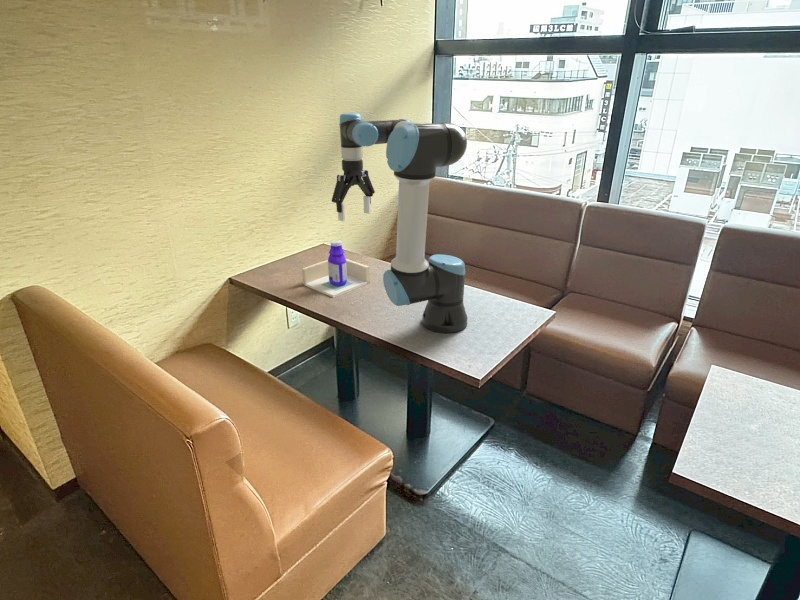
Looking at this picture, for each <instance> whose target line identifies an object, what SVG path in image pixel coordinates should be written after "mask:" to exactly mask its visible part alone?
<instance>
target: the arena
mask: <svg viewBox="0 0 800 600" xmlns="http://www.w3.org/2000/svg"><path fill="white" fill-rule="evenodd" d="M346 271H347V282H346V284H344V285H342V286H336V285H333V284H331V283H330V281H329V269H328V259H326V260H323V261H319V262H317V263H314V264H310V265H308V266H306V267H303V268H301V272H302V274H301V275H302V283H303V286H305V287H307V288H310V289H312V290H314V291H316V292H319V293H322V294H323V295H326V296H328V297H330V298H332V299H333V298H336V297H339V296H341V295H343V294H346V293H348V292H350V291H353V290H356V289H358V288H361V287H363V286H365V285H368V284H370V266H368V265H366V264H364V263H363V264H362V263H360V262H357V261H354V260H351V259H349V258H346Z"/></svg>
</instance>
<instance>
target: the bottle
mask: <svg viewBox="0 0 800 600" xmlns="http://www.w3.org/2000/svg"><path fill="white" fill-rule="evenodd" d="M328 254H329V256H328V257H327V260H328V269H329V281H330V283H331V284H333V285H336V286H342V285H344V284H346V282H347V271H346V259H347V257H346V256H345V255H344V254H345V251H344V250H343V246H342V240H339V239H332V240H331V241H330V249H329V251H328Z"/></svg>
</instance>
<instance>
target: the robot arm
mask: <svg viewBox="0 0 800 600" xmlns="http://www.w3.org/2000/svg"><path fill="white" fill-rule="evenodd" d="M339 135H340V149H341V150H340V153H341V154H340V155H341V159H342V160H341V169H342V171H343V175H342V174H337V175H336V183H335V187H334V190H333V194H332V197H331V202H332V203H335V204H336V205H335V206H336V212H337V218H338V221H340V222H345V221H346V214H345V213H346V212H345V203H343V202H344V200H345V198H346V196H347V194H348V192H349V190H350V189H351V188H352V187H354V186H355V185H356V186H358V187H359V189H360V190H361V192H362V193H363V194H364V195H363V198H362V199H363V213H364V214H369V215H370V214H371V204H372V201H371V200H372V198H371V197H373V196H374V194H375V188H374V187H373V184H372V182H371V179H370V176H369V171H368V170H367V169H366V170H365V169H364V163H363V162H364V160H363V159H362V158H363V147H372V146H374V145H382V144H383V145H384V144H386V149H385V156H386V160H387V161H386V163H387V165H388V167H389V169H390V170H391V171H392V172H393V176H394V177H395V178H396V179H397V181H398V195H397V196H398V197H397V198H398V199H397V222H396V223H397V226H396V227H397V228H396V249H395V250H396V251H395V252H396V254H395V257H394V258H393V259H392V260H391V261H390V269H387V270H385V271H384V273H383V274H382V280H383V281H382V282H383V286H384V290H385V293H386V295H387V297H388V299H389V300H390V302H391V303H392V304H393V305H395V306H397V307H402V306H410V305H412V304H416V303H421V302H425V301H427V302H426V305H425V308H424V310H423V313H422V316H421V317H422V318H421V321H422V322H421V323H422V325H423V327H425V328H426V329H427V330H429V331H431V332H435V333H443V334H453V333H457V332H461V331H462V330H464V329H466V327H467V326H468V315H467V311H466V307H465V304H464V293H465V278H466V277H465V276H466V265H465V264H466V263H465V262H464V261H463V260H462V259H461V258H459V257H456V256H453V255H450V254H449V255H448V254H433V255H432V254H431V256H430V257H428V260H427V259H426V258H425V257H426V256H425V254H426V238H427V237H426V236H427V227H428V226H427V224H428V211H429V210H428V209H429V195H430V183H431V181H433V179H435V178H436V176H437V175H436V171H437V168H442V167H443V168H444V167H447V166H452V165H454V164H455V163H457V162H459V160H460V159H462V157H463V156H464V155H465V152H466V150H467V144H468V140H467V136H466V135H467V134H466V133H465V131H464V130H463V128H461V127H460V126H458V125H457V124H455V123H451V122H436V123H435V122H433V123H419V122H413V121H411V120H410V119H403V118H400V119H390V120H369V121H363V120H362V115H361V114H360V113H357V112H344V113H341V114H340V115H339Z"/></svg>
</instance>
